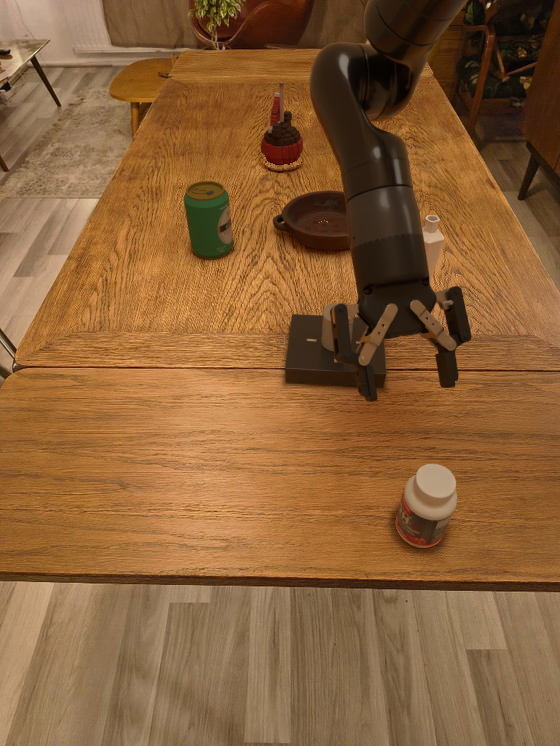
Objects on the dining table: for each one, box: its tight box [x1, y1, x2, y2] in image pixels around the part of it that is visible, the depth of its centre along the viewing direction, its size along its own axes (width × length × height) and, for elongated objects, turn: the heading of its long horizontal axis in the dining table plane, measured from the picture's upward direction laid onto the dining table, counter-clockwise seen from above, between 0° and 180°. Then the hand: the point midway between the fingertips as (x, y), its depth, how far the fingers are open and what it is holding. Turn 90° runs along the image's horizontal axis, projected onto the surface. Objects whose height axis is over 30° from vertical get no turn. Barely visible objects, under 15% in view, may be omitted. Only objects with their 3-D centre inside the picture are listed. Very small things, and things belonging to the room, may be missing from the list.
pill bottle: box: [395, 463, 458, 549], centre depth 54 cm, size 5×5×10 cm
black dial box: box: [284, 313, 387, 389], centre depth 76 cm, size 14×12×3 cm
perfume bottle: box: [422, 214, 446, 283], centre depth 81 cm, size 5×4×15 cm
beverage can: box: [182, 180, 234, 260], centre depth 94 cm, size 8×8×12 cm
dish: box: [272, 189, 350, 251], centre depth 100 cm, size 18×22×5 cm
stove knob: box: [321, 302, 354, 352], centre depth 73 cm, size 4×4×6 cm
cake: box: [260, 81, 304, 172], centre depth 118 cm, size 11×9×18 cm
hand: (410, 394), depth 54 cm, fingers open, 8 cm apart
